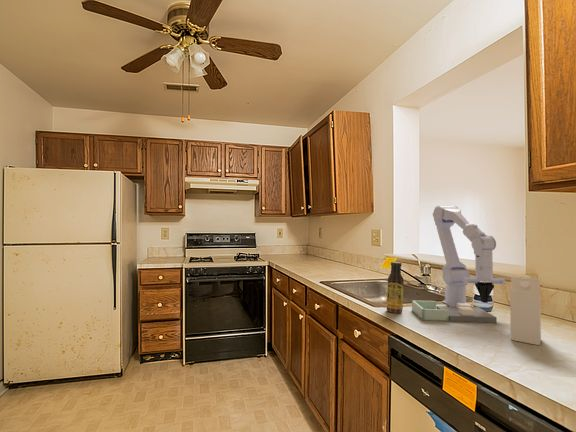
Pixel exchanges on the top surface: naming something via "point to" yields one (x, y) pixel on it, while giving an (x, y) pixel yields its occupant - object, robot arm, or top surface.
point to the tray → (429, 311)
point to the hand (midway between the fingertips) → (484, 302)
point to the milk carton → (525, 310)
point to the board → (477, 317)
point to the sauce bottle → (395, 289)
